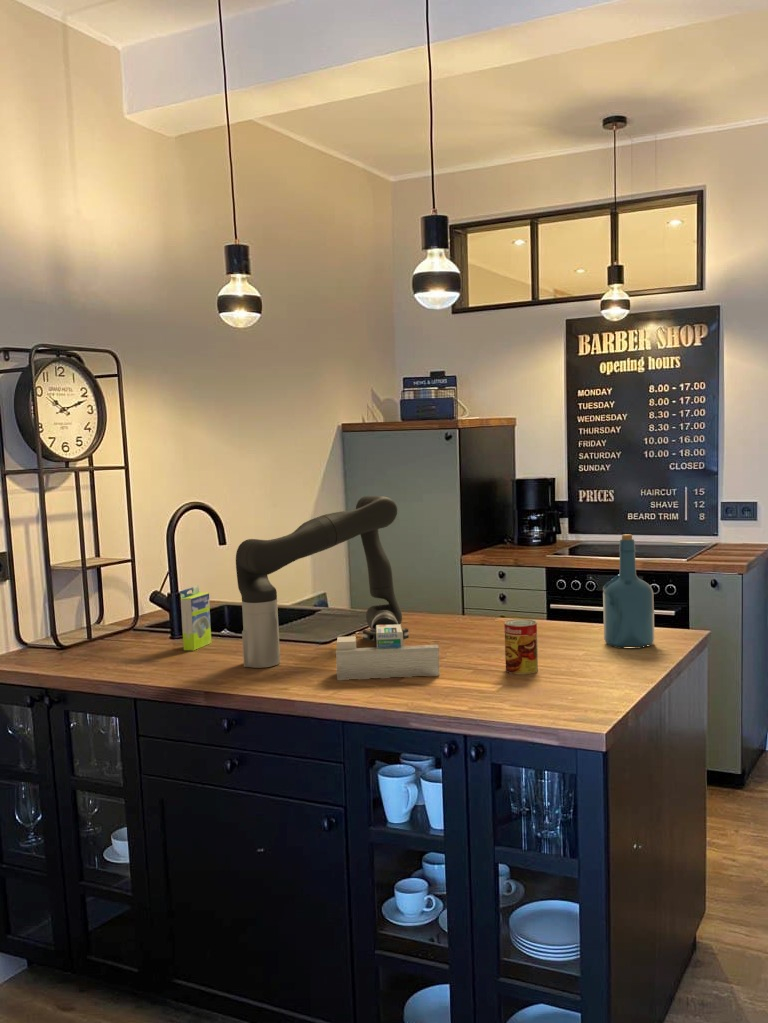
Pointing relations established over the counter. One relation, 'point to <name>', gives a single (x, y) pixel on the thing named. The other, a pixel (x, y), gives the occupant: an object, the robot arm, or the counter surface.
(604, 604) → the wine bottle
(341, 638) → the block
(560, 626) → the counter surface
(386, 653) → the rail
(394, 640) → the light bulb box
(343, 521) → the robot arm
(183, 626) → the box
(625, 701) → the counter surface
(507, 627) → the canned food
